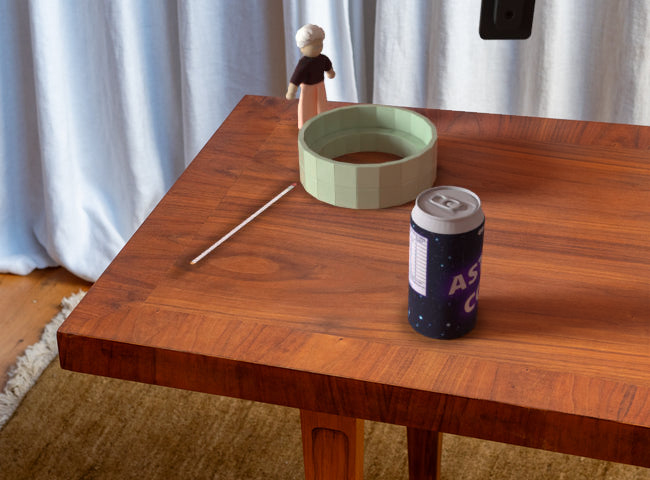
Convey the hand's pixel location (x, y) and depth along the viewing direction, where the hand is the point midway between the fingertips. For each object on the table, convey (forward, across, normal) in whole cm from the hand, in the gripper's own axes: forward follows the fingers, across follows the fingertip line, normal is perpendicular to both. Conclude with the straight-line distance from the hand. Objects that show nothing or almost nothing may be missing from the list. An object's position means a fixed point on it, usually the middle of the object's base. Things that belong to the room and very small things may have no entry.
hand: (495, 11), depth 59 cm
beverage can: (+26, -1, +2) cm, 26 cm away
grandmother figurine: (+26, +36, +14) cm, 46 cm away
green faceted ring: (+26, +24, +8) cm, 36 cm away
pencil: (+26, +14, +20) cm, 36 cm away
